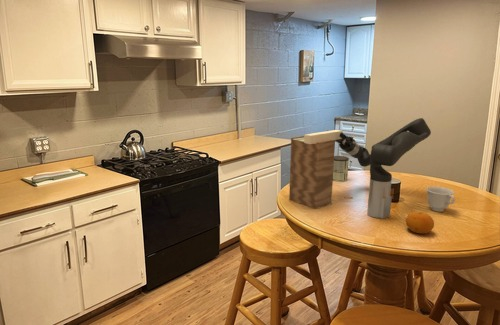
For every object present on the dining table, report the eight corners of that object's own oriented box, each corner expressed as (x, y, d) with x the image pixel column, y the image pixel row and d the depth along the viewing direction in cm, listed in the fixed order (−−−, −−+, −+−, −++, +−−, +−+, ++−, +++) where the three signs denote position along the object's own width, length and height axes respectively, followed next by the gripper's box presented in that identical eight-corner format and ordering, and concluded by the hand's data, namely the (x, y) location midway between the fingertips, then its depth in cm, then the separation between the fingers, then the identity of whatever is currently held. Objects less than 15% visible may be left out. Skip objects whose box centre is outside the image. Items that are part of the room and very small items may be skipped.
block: (342, 138, 182) (342, 130, 181) (310, 144, 167) (310, 135, 166) (335, 137, 185) (336, 129, 184) (304, 142, 170) (304, 134, 169)
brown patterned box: (331, 203, 182) (335, 140, 174) (315, 209, 175) (318, 142, 167) (304, 194, 196) (307, 135, 188) (289, 199, 188) (291, 137, 181)
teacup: (441, 217, 165) (443, 197, 162) (418, 206, 178) (420, 187, 176) (462, 215, 168) (465, 194, 165) (438, 204, 182) (440, 185, 179)
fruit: (424, 225, 156) (426, 208, 154) (437, 236, 145) (440, 218, 143) (400, 226, 155) (402, 208, 153) (412, 236, 145) (414, 218, 143)
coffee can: (329, 177, 230) (330, 155, 227) (345, 177, 229) (347, 156, 226) (331, 181, 221) (332, 159, 217) (348, 182, 220) (350, 159, 216)
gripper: (358, 154, 185) (342, 142, 174) (335, 150, 196) (319, 138, 185) (363, 141, 186) (348, 128, 175) (340, 137, 196) (325, 125, 186)
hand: (333, 133), depth 180 cm, fingers open, 8 cm apart
